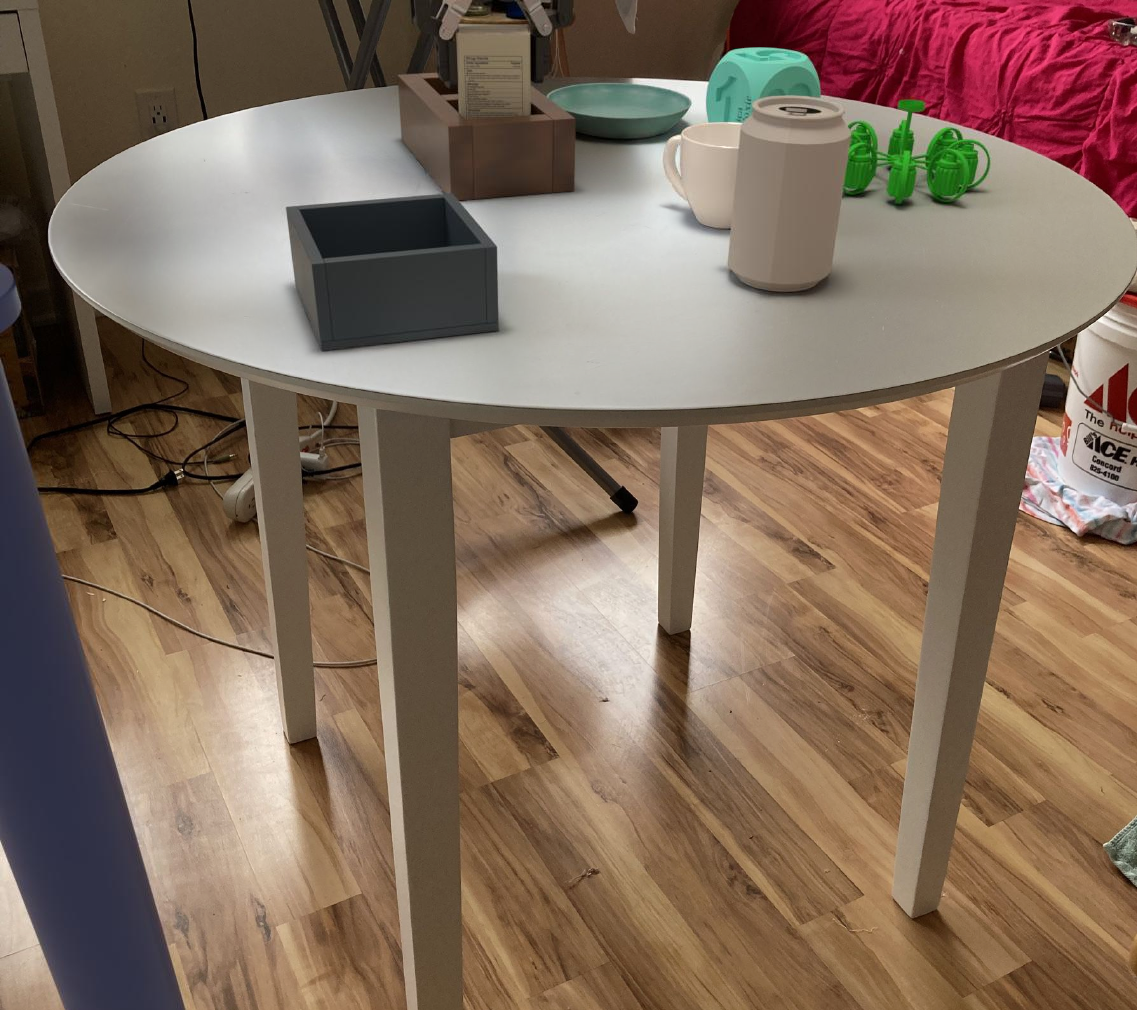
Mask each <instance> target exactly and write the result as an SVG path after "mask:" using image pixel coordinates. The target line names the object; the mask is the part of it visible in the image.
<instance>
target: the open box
mask: <svg viewBox="0 0 1137 1010" xmlns="http://www.w3.org/2000/svg"><path fill="white" fill-rule="evenodd" d="M285 213H286V220H287V231H288V236H289V244H290V253H291V260H292V271H293V278H294V286H295V288H296V291H297V294H298V296H299V299H300V300H301V301H300V302H301V303H302V306H303V308H304V311H305V314H306V316H307V318H308V320H309V324H310V326H311V328H312V331H313V333H314V335H315V336H314V337H315V338H316V341H317V343H318V346H319V348H320V350H321V351H331V350H332V351H333V350H340V349H349V348H358V347H368V346H375V345H383V344H393V343H401V342H402V343H403V342H410V341H411V342H412V341H418V340H419V341H420V340H427V339H436V338H445V337H453V336H462V335H472V334H480V333H488V332H489V333H490V332H497V331H499V329H500V327H499V324H500V323H499V273H498V246H497V244H496V243H495V242H494V241H493V240H492V238H491V237H490V236H489V235H488V234H487V233H486V231H485V230H484V229H483V228H482V227H481V226H480V224H479V223H478V222H477V220H476V219H475V218H474V217H473V216H472V214H470V212H469V211H468V210H467V209H466V208H465V206H464V205H463V204H462V202H461V201H460V200H458V199H457V198H456V197H455V196H454V195H453V193H448V194H445V193H438V194H436V193H435V194H425V195H411V196H399V197H387V198H375V199H374V198H373V199H363V200H351V201H339V202H338V201H337V202H327V203H316V204H315V203H314V204H301V205H291V206H285Z"/></svg>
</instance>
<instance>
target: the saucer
mask: <svg viewBox="0 0 1137 1010" xmlns="http://www.w3.org/2000/svg"><path fill="white" fill-rule="evenodd" d="M546 97H547V98H549V99H550V100H551V101H553V102H554V103H555V104H557V105H558V106H559V107H561V108H562V109H563V110H565V111H566V112H567V113H569V114H570V115H571V116H573V117H574V118H575V119H576V124H575V133H580V134H582V135H587V136H591V137H596V138H597V137H598V138H606V139H616V140H617V139H619V140H621V139H622V140H623V139H624V140H628V139H629V140H630V139H631V140H634V139H643V138H651V137H655V136H660V135H662V134H664V133H666V132H668V131H670V130H671V129H672V128H673V127H675V125H676V124H677V123H679V122H680V121H681V120H682V119H683V118H684V116H686V114H687V113H688V111H689V110H690V108H691V107H692V103H693V102H692V100H691V99H690V97H689V96H687V95H685V94H683V93H681V92H679V91H676V90H673V89H669V88H663V87H659V86H655V85H647V84H639V83H626V82H625V83H624V82H594V83H593V82H591V83H581V84H574V85H568V86H564V87H560V88H557V89H554V90H552V91H550V92H549V93H548V94H547V95H546Z"/></svg>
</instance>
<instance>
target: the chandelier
mask: <svg viewBox="0 0 1137 1010" xmlns="http://www.w3.org/2000/svg"><path fill="white" fill-rule="evenodd" d="M925 108H926V102H924V101H922V100H917V99H899V101H898V104H897V109H898V110H900V111H904V112H907V116H906V119H901V122H900V123H899V125H898V128H894V129H893V130H892V134H891V135H890V138H889V141H888V147H887V153H885V152H882V151H880V150H879V142H878V137H877V134H876V131H875V129H874V128H873V125H871V124H870V123H869V122H867V121H865V120H856V121H853V122H851V123H849V124H847V126H848V127H849V129H850V130H851V129H852V128H853V127H854V126H856V128H855V129H853V130H851V140H850V147H849V154H848V160H847V167H846V174H845V180H844V187H843V193H845V194H848V195H854V196H855V195H858V194H860V193H862V192H864V191H865V190H866V189H867V188H868V187H869V185H870V184H871V182H872V181H873V179H874V177H875V175H876V172H877V169H878V167H882V166H887V165H890V166H892V167H891V168H890V170H889V175H888V181H887V187H886V193H887V195H888V196H889V197H892V198H894V204H897V205H898V204H899V205H901V204H902V203H903V199H909V198H911V196H912V195H913V193H914V189H915V183H916V178H917V173H918V172H917V168H919V169H922V170H923V171H924V170H925V171H926V183H927V187H928V190H929V192H930V194H931V195H932V196H933V197H934V198H935V199H936V200H937V201H939V202H941V203H950V202H954V201H957V200H958V199H960V198H961V197H962V196H963V195H964V194H965V193H966V191H969V190H972V189H974V188H977V186H979V185H980V184H982V182H983V181H984V180H985V179H986V178H987V176H988V174H989V172H990V169H991V157H990V153H989V150H988V149H987V148H986V146H985V145H984V144H983V143H982V142H980V141H979V140H976V139H973V138H972V139H971V138H965V139H964V137H963V134H962V132H961V130H959V129H957V128H955V127H951V126H945V127H943V128H941V129H940V130H939V131H937V133H936V134H934V136H933V138H931V140H930V142H929V144H928V147H927V149H926V152H925V154H921V155H915V156H912V155H913V150H914V144H915V136H914V134H915V131H914V130H912V129H910V128H911V123H912V117H913V113H919V112H924V111H925ZM954 134H955V135H956V137H954ZM975 145H977V146H978V147H980V148H981V150H983V151H984V153H985V155H986V158H987V164H986V168H985V171H984V173H983V175H982V176H981V177H980V178H979V179H978V180H977V181H976V182H974V181H975V178H976V175H977V170H978V165H979V150H977V149H975ZM878 155H880V157H879V156H878ZM881 156H882V157H881ZM923 159H924V160H923ZM878 161H883V162H879V163H878ZM922 164H924V165H922ZM848 189H852V190H848ZM945 197H952V198H945Z"/></svg>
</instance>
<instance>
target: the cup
mask: <svg viewBox="0 0 1137 1010" xmlns="http://www.w3.org/2000/svg"><path fill="white" fill-rule="evenodd" d="M741 124H742V123H731V122H714V123H709V122H703V123H697V124H694V125H690V126H687V127H685V128H684V129H683V130H682V131H681V134H676V135H673V136H672V137H670V138H669V139H668V140H667V141H666V144H665V146H664V149H663V156H662V164H663V170H664V173H665V175H666V177H667V180H668V182H669V184H670V185H671V187H672V188H673V190H675V192H676V193H677V195H678V196H679V197H680V198H682V199H683V200H685V201H687V203H688V205H689V207H690V209H691V212H692V213H693V215H694V216H695V218H696V220H697V221H698V223H699V224H701V225H703V226H706V227H709V228H715V229H725V230H728V229H729V230H731V223H732V213H733V202H734V192H735V182H736V171H737V161H738V151H739V140H740V130H741ZM679 146H680V147H679ZM678 148H679V170H678V167H677V163H676V154H677V150H678ZM679 172H680V173H679Z"/></svg>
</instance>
